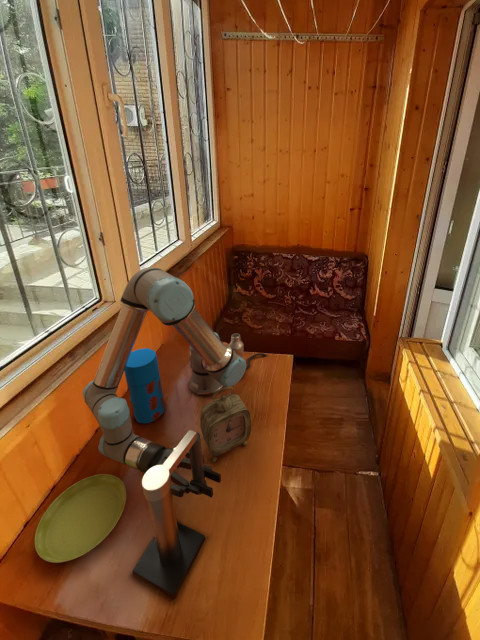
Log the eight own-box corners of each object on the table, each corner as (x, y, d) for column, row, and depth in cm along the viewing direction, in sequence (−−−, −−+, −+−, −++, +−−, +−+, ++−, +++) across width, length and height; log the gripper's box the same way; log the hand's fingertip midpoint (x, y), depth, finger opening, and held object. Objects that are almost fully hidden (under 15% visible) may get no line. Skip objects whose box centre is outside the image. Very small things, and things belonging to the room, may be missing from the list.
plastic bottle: (242, 380, 134) (240, 341, 127) (228, 377, 135) (225, 339, 128) (247, 370, 140) (245, 332, 133) (233, 368, 141) (231, 330, 134)
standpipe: (174, 599, 70) (160, 529, 61) (133, 574, 73) (114, 506, 65) (205, 539, 80) (197, 472, 72) (167, 520, 84) (155, 455, 76)
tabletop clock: (210, 468, 98) (204, 407, 89) (201, 446, 105) (194, 387, 96) (251, 446, 105) (249, 387, 96) (240, 426, 112) (237, 370, 104)
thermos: (130, 410, 118) (118, 356, 110) (158, 396, 125) (149, 344, 116) (139, 429, 111) (128, 372, 102) (169, 413, 117) (160, 358, 109)
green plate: (78, 477, 95) (76, 470, 93) (142, 485, 92) (141, 478, 91) (15, 563, 75) (11, 555, 74) (94, 576, 73) (91, 568, 72)
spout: (169, 559, 71) (156, 494, 64) (150, 549, 73) (135, 484, 66) (212, 485, 87) (206, 425, 80) (195, 478, 89) (188, 419, 81)
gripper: (167, 442, 99) (232, 467, 92) (126, 492, 85) (199, 527, 77) (164, 424, 97) (230, 449, 89) (122, 473, 82) (196, 507, 75)
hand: (216, 485), depth 83 cm, fingers closed on spout, 3 cm apart
